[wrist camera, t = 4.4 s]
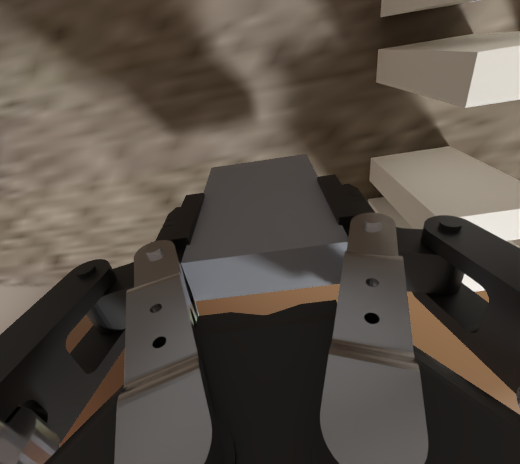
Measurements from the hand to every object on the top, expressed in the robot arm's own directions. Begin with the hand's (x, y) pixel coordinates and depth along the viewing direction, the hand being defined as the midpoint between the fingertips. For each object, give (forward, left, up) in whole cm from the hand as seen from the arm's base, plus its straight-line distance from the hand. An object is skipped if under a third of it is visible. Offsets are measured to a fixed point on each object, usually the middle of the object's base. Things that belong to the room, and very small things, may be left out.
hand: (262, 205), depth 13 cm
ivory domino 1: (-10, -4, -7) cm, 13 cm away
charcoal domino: (0, 0, -3) cm, 3 cm away
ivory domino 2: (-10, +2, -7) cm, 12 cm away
